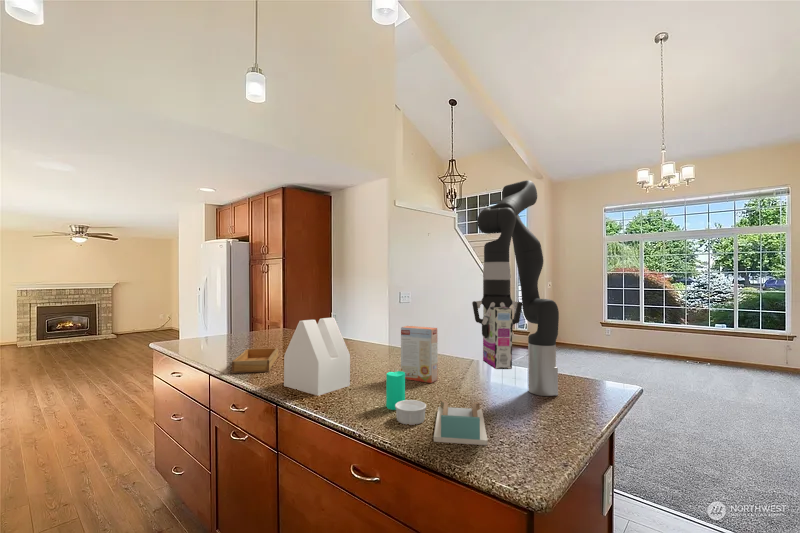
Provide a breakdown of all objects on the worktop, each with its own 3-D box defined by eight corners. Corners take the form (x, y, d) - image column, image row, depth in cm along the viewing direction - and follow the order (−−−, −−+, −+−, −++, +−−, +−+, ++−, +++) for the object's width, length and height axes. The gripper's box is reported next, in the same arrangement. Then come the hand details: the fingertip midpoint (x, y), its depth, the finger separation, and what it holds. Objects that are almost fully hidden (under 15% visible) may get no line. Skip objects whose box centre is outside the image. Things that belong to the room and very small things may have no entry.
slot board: (481, 412, 113) (481, 392, 113) (487, 445, 91) (487, 419, 91) (438, 410, 115) (438, 389, 115) (433, 441, 93) (433, 416, 93)
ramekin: (430, 424, 105) (430, 408, 105) (400, 427, 102) (400, 411, 102) (420, 413, 113) (420, 398, 113) (391, 416, 111) (391, 401, 111)
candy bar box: (513, 369, 101) (513, 308, 101) (495, 369, 100) (495, 308, 101) (498, 360, 112) (498, 305, 112) (482, 360, 111) (482, 305, 112)
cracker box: (438, 380, 149) (438, 327, 150) (431, 383, 144) (431, 329, 145) (407, 375, 157) (407, 325, 157) (400, 378, 152) (400, 326, 152)
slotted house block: (349, 385, 142) (350, 319, 142) (318, 396, 129) (318, 323, 130) (315, 377, 153) (316, 316, 154) (283, 386, 141) (284, 319, 142)
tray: (246, 359, 188) (246, 348, 189) (278, 358, 191) (278, 347, 192) (231, 375, 158) (231, 361, 159) (269, 373, 161) (269, 360, 161)
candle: (407, 404, 120) (407, 366, 121) (401, 411, 115) (401, 371, 115) (390, 402, 122) (390, 365, 123) (383, 408, 117) (383, 369, 117)
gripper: (520, 278, 110) (520, 337, 109) (470, 278, 112) (470, 335, 111) (525, 278, 102) (525, 341, 102) (471, 278, 104) (471, 339, 104)
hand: (496, 337), depth 106 cm, fingers closed on candy bar box, 5 cm apart
